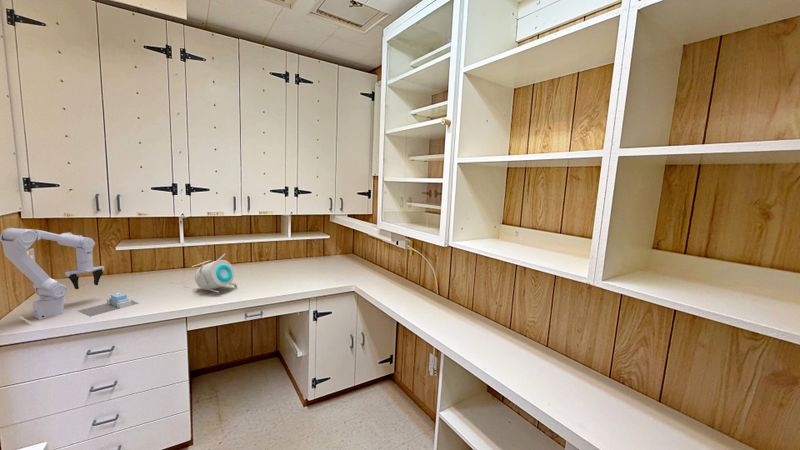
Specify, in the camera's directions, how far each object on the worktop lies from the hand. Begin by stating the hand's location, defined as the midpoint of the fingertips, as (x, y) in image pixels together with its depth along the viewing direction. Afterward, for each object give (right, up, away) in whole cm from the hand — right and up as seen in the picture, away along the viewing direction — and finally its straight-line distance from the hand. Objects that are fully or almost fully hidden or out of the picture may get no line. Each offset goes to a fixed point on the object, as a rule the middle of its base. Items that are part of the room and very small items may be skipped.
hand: (86, 286), depth 165 cm
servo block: (+15, -9, +2) cm, 18 cm away
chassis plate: (+13, -11, -2) cm, 17 cm away
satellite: (+47, -9, +32) cm, 57 cm away
